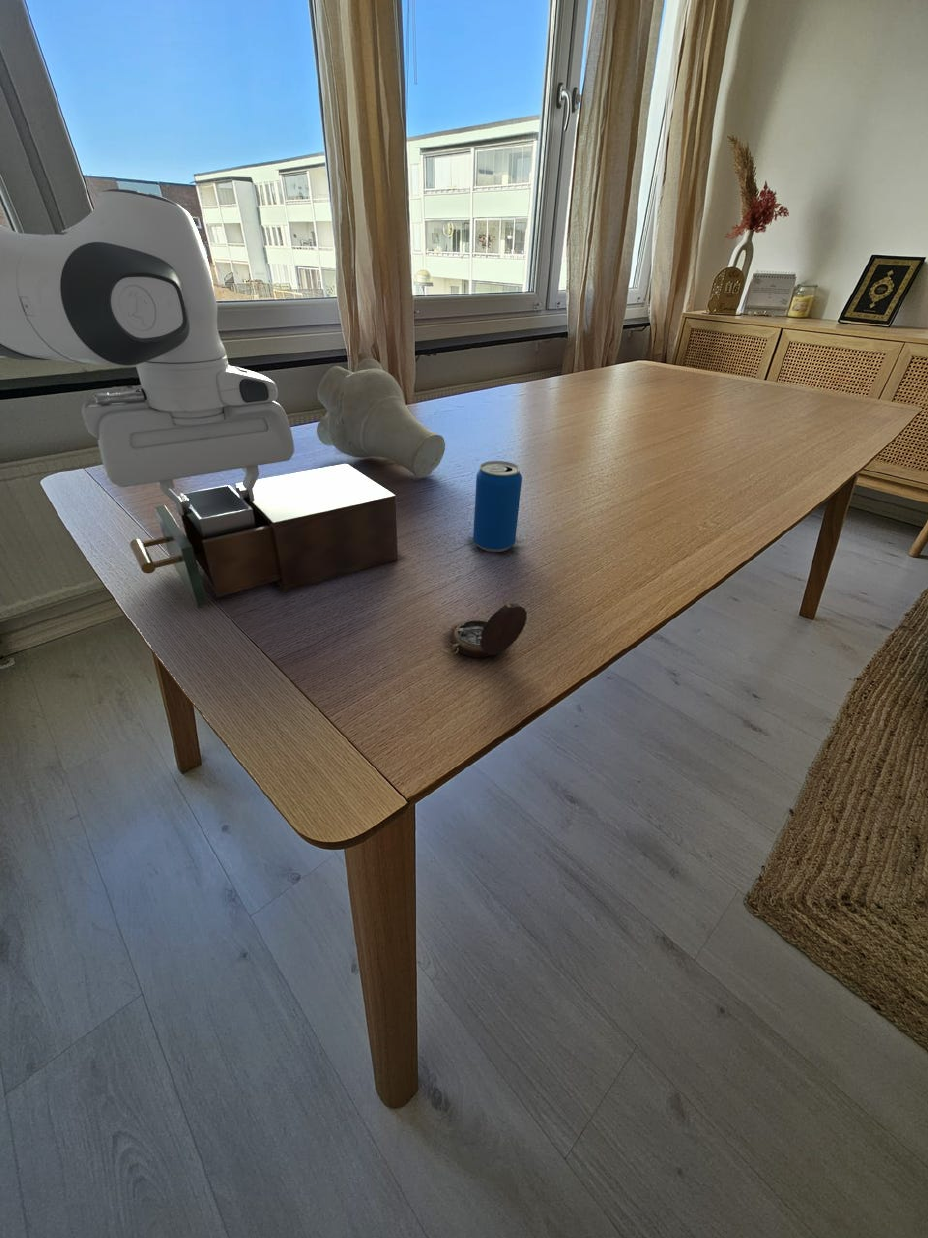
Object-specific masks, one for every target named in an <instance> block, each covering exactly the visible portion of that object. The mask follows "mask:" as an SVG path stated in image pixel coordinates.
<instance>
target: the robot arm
mask: <svg viewBox="0 0 928 1238" xmlns="http://www.w3.org/2000/svg"><path fill="white" fill-rule="evenodd" d="M218 310H219V309H218V302H217V297H216V291H215V287H214V282H213V278H212V274H211V269H210V265H209V261H208V258H207V254H206V250H205V248H204V244H203V241H202V238H201V235H200V233H199V230H198V228H197V226H196V224H195V222H194V219H193V217H192V215H191V214H190V213H189V212H188V211H187V210H186V209H185V208H183V207H182V206H181V205H180V204H178V203H176V202H175V201H173V200H171V199H169V198H166V197H163V196H160V195H157V194H153V193H147V192H140V191H138V190H132V189H124V188H123V189H122V188H109V189H106V190H102V191H101V192H99V193H98V195H97V204H96V205H95V207H94V208H92V210H91V211H90V213H88V215H86V216H85V217H84V218H83V219H81V220H80V221H79V222H77V223H76V224H74V225H72V226H70V227H69V228H66V229H62V230H61V234H58V233H57V234H53V233H52V234H36V233H20V232H17V231H15V230H12V229H11V228H8V227H6V226H4V225H2V224H0V356H2V357H4V358H8V359H12V360H20V361H57V362H58V361H59V362H60V361H61V362H66V363H74V364H81V365H97V366H105V367H115V368H125V367H130V366H135V367H136V371H137V375H138V378H139V382H140V385H141V389H131V390H122V391H117V392H99V393H95V394H93V396H92V398H89V399H88V400H86V401H85V402H84V403H83V405H82V407H81V417H82V419H83V422H84V426H85V428H86V431H87V432H88V434H89V435H90V436H91V437H93V438H94V439H95V440H97V446H98V449H99V455H100V458H101V463H102V466H103V469H104V472H105V475H106V478H107V479H108V480H109V482H111V484H113V485H115V486H117V487H119V488H122V489H123V488H129V487H135V486H142V485H148V484H153V483H156V485H157V486H158V488H159V490H160V491H161V492H162V493H163V494H164V495H165V496H166V497H168V498H169V500H170V501H172V502H173V506H174V510H175V512H176V514H177V515H178V516H179V517H181V515H186V514H190V513H192V511H191V508H190V502H189V500H188V498H187V497H186V496H185V495H184V496H180V495H179V496H178V495H177V494H176V493H175V492H174V491H173V489H175V485H174V484H175V483H174V481H173V480H178V479H179V480H180V479H184V478H189V477H197V476H202V475H203V476H204V475H209V474H214V473H215V474H216V473H220V472H221V473H222V472H227V471H233V470H239V469H241V470H242V471H243V472H244V473H245V476H244V479H243V484H242V485H240V486H236V488H237V492H238V495H239V496H240V497H241V498H242V499H243V500H244V501H245V502H246V503H247V502H252V501H254V494H253V489H252V488H254V486H255V483H256V481H257V480H258V479H259V475H260V471H259V466H265V465H269V464H275V463H282V462H287V461H288V462H289V461H290V460H291V459H292V457H293V455H294V453H295V444H294V438H293V433H292V430H291V425H290V421H289V418H288V415H287V413H286V410H285V409H284V408H283V406H282V405H280V403H278V402H276V400H277V399H278V397H279V392H278V391H279V390H278V386H277V384H276V383H275V382H274V381H273V380H272V379H270V378H269V377H267V376H265V375H264V374H261V373H259V372H256V371H252V370H249V369H245V368H244V367H243V368H242V367H239V366H232V365H230V364H229V360H228V355H227V354H228V353H227V351H226V348H225V346H224V343H223V341H222V339H221V337H220V333H219V329H218V313H219V311H218ZM94 403H95V404H94ZM93 404H94V405H93ZM236 488H235V489H236Z"/></svg>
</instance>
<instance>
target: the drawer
mask: <svg viewBox="0 0 928 1238" xmlns="http://www.w3.org/2000/svg"><path fill="white" fill-rule="evenodd" d="M247 504H248V505H249V506H250V507H251V508H252V509H253V514H254V520H255V525H256V527H255V528H251V529H246V530H242V531H237V532H233V533H228V534H224V535H219V536H215V537H210V538H206V539H204V538H203V537H202V535H201V534H200V532H199V531H198V530H197V528H196V527H195V526H194V524H193V523H192V521H191V520H190V519H189V517H188V516H187V514H186V515H181V516H180V519H181V523H182V526H183V530H184V532H183V530H182V529H181V527H180V526H179V524H178V523H177V522H176V520H175V518H174V516H173V514H172V513H171V512H170V510H169V509H168V508H167V506H166V505H165V504H164V505H157V506H154V510H155V514H156V516H157V520H158V522H159V523H158V524H159V526H160V530H161V532H162V535H163V536H161V537H156V538H152V539H148V540H143V541H142V540H141V539H138V538H134V539H132V540H131V541H130V542H129V546H130V548H131V551H132V553H133V555H134V557H135V560H136V562H137V563H138V565H139V567H140V569H141V571H142V573H144V574H148V575H150V574H152V573H154V572H155V570H156V569H157V568H161V567H167V566H170V565H173V567H174V569H175V570H176V572H177V574H178V576H179V577H180V579H181V580H182V582H183V584H184V586H185V588H186V589H187V591H188V593H189V594H190V596H191V598H192V600H193V601H194V603H195V606H196V607H197V608H198V609H199V608H202V607H206V606H208V605H209V600H208V597H207V594H206V590H205V586H204V583H203V580H202V575H201V573H202V574H203V576H204V578H205V580H206V581H207V582H208V584H209V585H210V587H211V588H212V590H213V592H214V593H215V595H216V596H217V598H219V597H223V596H226V595H230V594H233V593H238V592H240V591H244V590H248V589H252V588H254V587H258V586H262V585H266V584H269V583H273V582H277V580H280V579H281V574H280V568H279V562H278V557H277V551H276V546H275V540H274V534H273V529H272V526H271V525H270V524H269V523H268V522H267V521H266V520H265V519H264V518H263V517H262V516H261V515H260V514H259V513H258V511H257V510H256V509H255V508H254V507H253V506H252V505H251V504H250V503H249V502H247ZM162 544H165V546H166V549H167V552H168V555H169V557H168V558H164V559H159V560H155V561H154V560H153V559H152V557H151V555H150V553H149V551H148V549H147V548H148V547H153V546H157V545H162ZM200 571H201V572H200Z"/></svg>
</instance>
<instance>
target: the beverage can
mask: <svg viewBox="0 0 928 1238" xmlns="http://www.w3.org/2000/svg"><path fill="white" fill-rule="evenodd" d="M475 476H476V477H475V493H474V495H475V496H474V512H473V514H474V515H473V529H472V531H473V532H472V541H473V543H474V544H475V545H476V546H478V548H480V549H481V550H483V551H486V552H489V553H501V552H505V551H507V550H509V549H510V548H512V547H513V546H514V545H515V544H516V539H517V531H518V521H519V512H520V504H521V503H520V502H521V494H522V492H521V491H522V484H523V483H522V481H523V476H522V474H521V467H520V466H519V465H518V464H516V463H513V462H510V461H506V460H505V461H504V460H489V461H485V462H483V463H480V465H479V470H478V471H477V473H476V475H475Z"/></svg>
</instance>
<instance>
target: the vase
mask: <svg viewBox="0 0 928 1238" xmlns="http://www.w3.org/2000/svg"><path fill="white" fill-rule="evenodd" d="M404 396H405V395H404V393H403V390H402V388H401V386H400V384H399V382H398V381H397V380H396V379H395V377H394V376H393V375H391V374H390V373H389V372H388V371H386V370H384V369H383V368H382V365H381V363H379V362H378V360H377V359H374V358H364V359H361V361H359V362H358V363H357V365H356V366H355V369H354V371H350V370H348V369H345V368H343V367H342V366H339V365H336V366H331V368H329V369H328V370H327V371H326V372H325V374H324V375H323V377H322V378H321V380H320V382H319V385H318V388H317V399H318V401H319V403H320V404H321V405H322V406H323V407H324V408H325V410H326V411H327V413H326V414H325V415H324V416H323V417H322V418H321V419H320V420H319V422H318V423H317V427H316V435H317V437H318V439H319V441H320V442H321V444H323V445H324V446H327V447H334V448H336V450H338V451H339V452H340V453H342V454H344V455H347V456H350V457H353V458H359V459H360V458H361V459H363V458H371V457H376V458H383V459H387V460H390V461H392V462H394V463H396V464H398V465H399V466H401V467H403V468H405V469H406V470H407V471H409V472H410V473H411V474H413V475H414V476H415V477H417V478H418V479H422V478H426V477H428V476H430V475H431V474H432V473H433V472H434V471H435V469H437V467H438V466H439V465H440V463H441V461H442V459H443V457H444V453H445V451H446V450H445V449H446V442H445V439H444V437H443V436H442V435H440V434H438V433H436V432H434V431H432V430H430V429H429V428H428V427H426V426H425V425H423V424H422V423H421V422H419V421H418V419H416V418H415V417H414V416H413V414H412V413H411V412H410V411H409V409H408V407H407V403H406V402H405V397H404Z"/></svg>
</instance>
